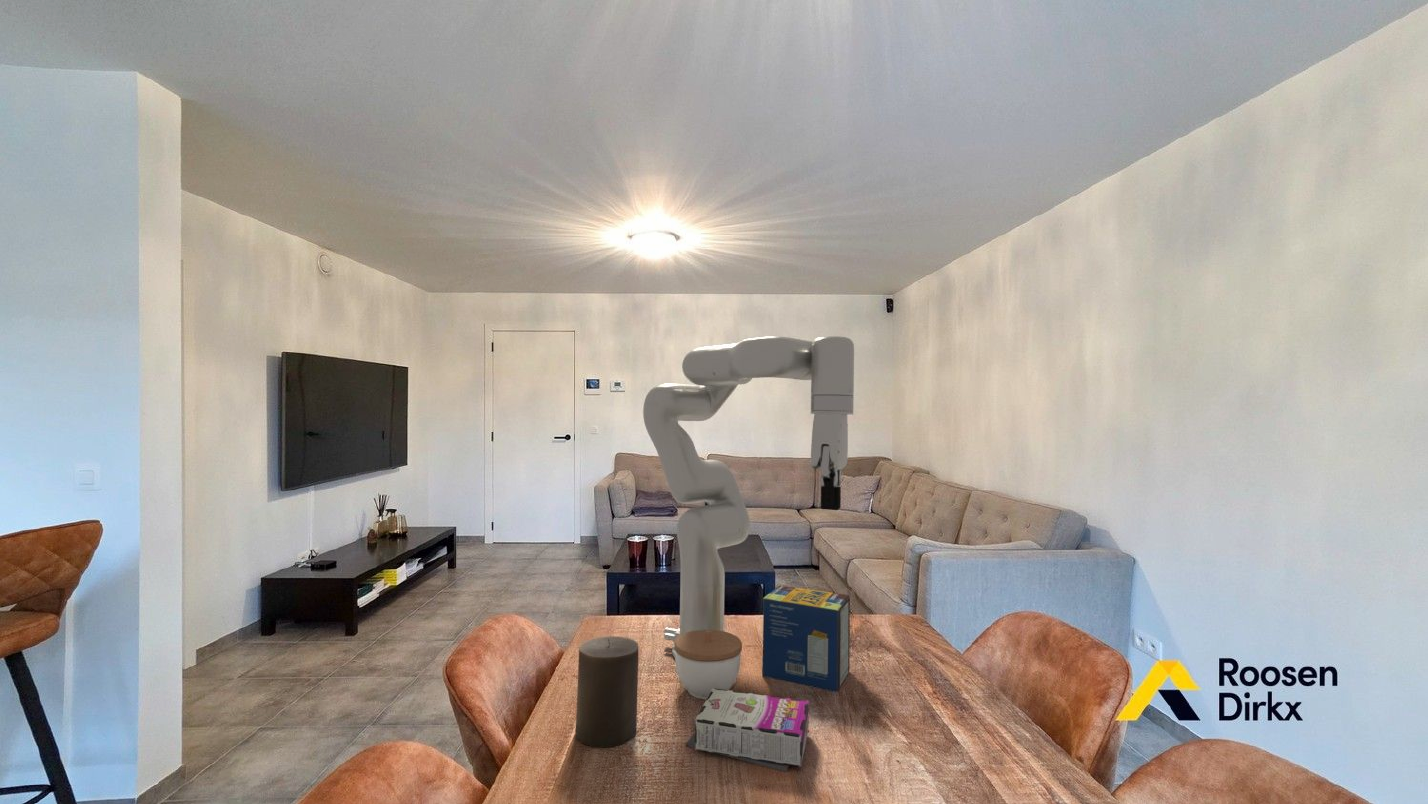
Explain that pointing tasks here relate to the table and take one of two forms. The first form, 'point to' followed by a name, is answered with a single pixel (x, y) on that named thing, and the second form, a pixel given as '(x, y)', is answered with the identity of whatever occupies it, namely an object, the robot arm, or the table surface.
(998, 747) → the table surface
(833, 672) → the protein box
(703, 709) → the candy bar box
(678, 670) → the lidded bowl
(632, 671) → the pillar candle
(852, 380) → the robot arm
